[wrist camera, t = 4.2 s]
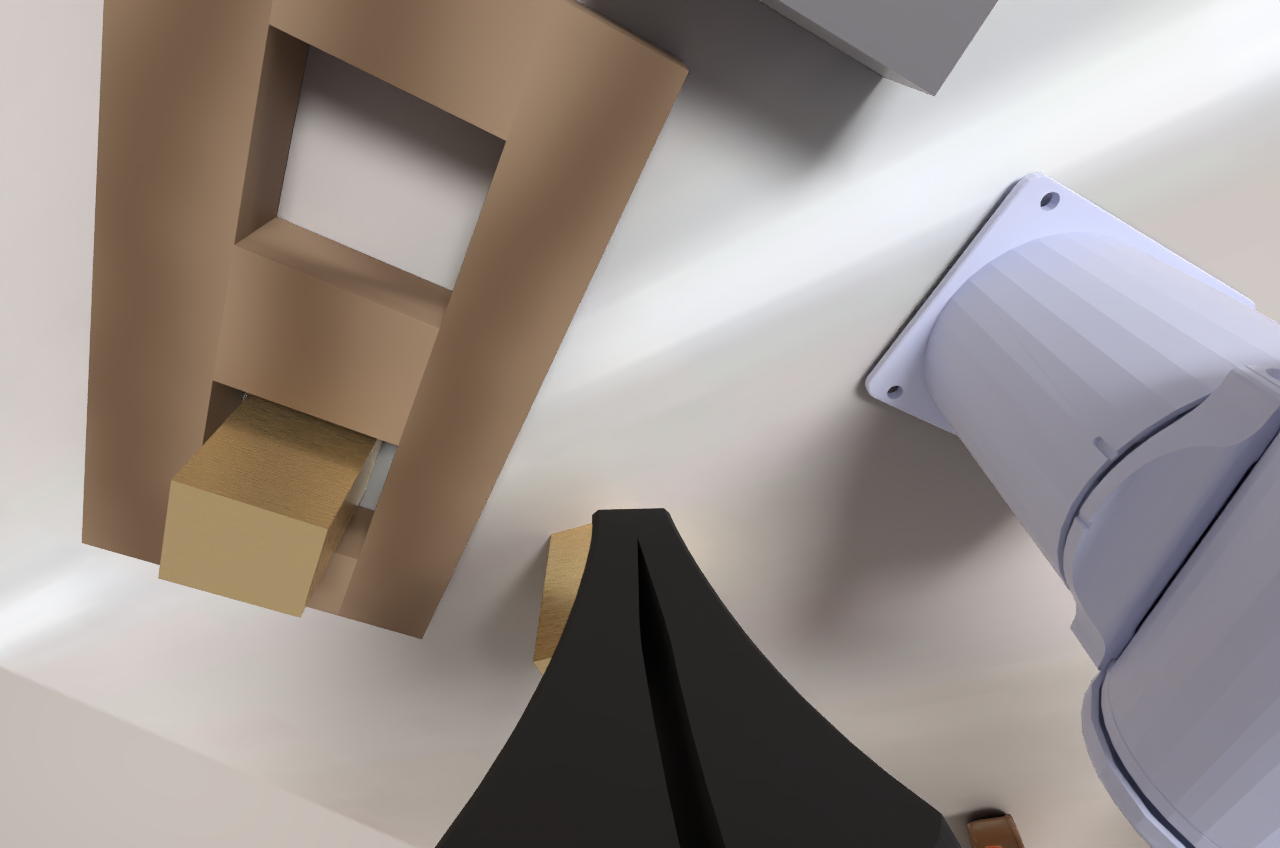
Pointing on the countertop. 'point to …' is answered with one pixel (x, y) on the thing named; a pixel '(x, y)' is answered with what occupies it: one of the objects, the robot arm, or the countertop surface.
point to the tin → (994, 833)
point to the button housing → (894, 33)
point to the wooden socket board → (345, 259)
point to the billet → (265, 505)
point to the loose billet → (560, 588)
